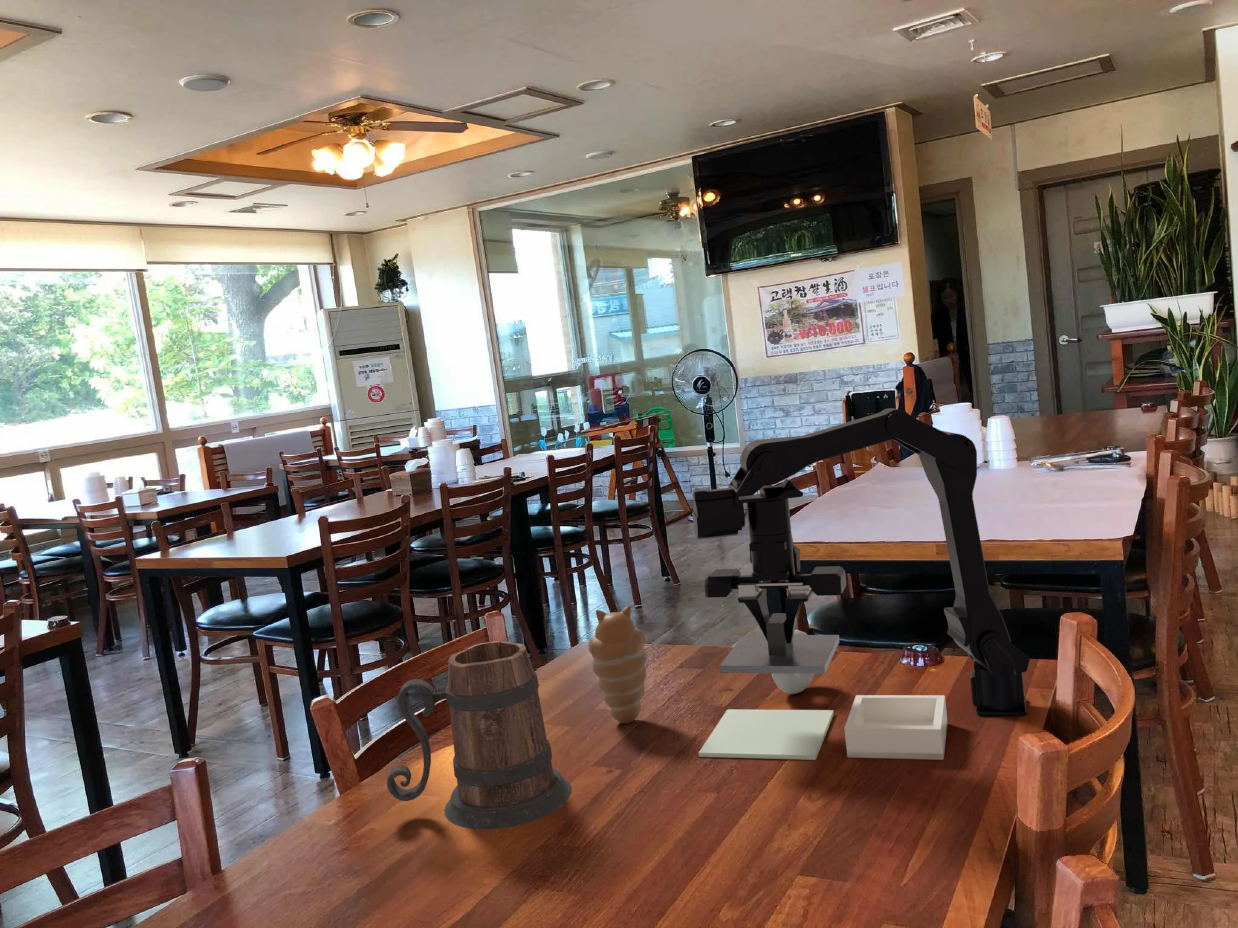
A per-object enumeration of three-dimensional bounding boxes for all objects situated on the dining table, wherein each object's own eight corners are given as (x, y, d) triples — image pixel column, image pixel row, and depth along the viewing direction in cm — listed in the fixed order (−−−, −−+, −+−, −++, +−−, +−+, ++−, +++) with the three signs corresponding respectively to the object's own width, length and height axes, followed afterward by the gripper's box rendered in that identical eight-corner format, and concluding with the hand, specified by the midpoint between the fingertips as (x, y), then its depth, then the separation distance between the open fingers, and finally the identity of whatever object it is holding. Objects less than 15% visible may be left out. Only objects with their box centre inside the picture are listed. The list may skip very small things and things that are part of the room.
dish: (947, 723, 136) (944, 695, 136) (943, 759, 125) (940, 729, 125) (858, 722, 141) (856, 695, 140) (847, 757, 129) (844, 727, 129)
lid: (839, 641, 141) (836, 604, 141) (825, 673, 128) (821, 632, 128) (743, 641, 146) (740, 605, 146) (720, 672, 133) (716, 632, 133)
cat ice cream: (653, 709, 156) (639, 598, 154) (657, 727, 148) (642, 610, 147) (598, 716, 156) (583, 606, 154) (598, 735, 148) (583, 618, 147)
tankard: (568, 763, 140) (549, 625, 137) (576, 815, 123) (554, 660, 121) (400, 791, 137) (378, 651, 135) (385, 848, 121) (360, 690, 118)
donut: (787, 704, 151) (780, 641, 150) (769, 701, 153) (762, 638, 152) (824, 683, 158) (817, 623, 157) (806, 680, 160) (799, 621, 159)
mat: (833, 714, 145) (833, 710, 145) (815, 759, 130) (815, 755, 130) (727, 713, 151) (727, 709, 151) (699, 756, 136) (698, 752, 136)
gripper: (846, 518, 140) (855, 625, 141) (718, 523, 146) (728, 626, 148) (835, 533, 130) (845, 649, 131) (698, 538, 136) (709, 649, 138)
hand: (780, 642), depth 137 cm, fingers closed on lid, 2 cm apart
